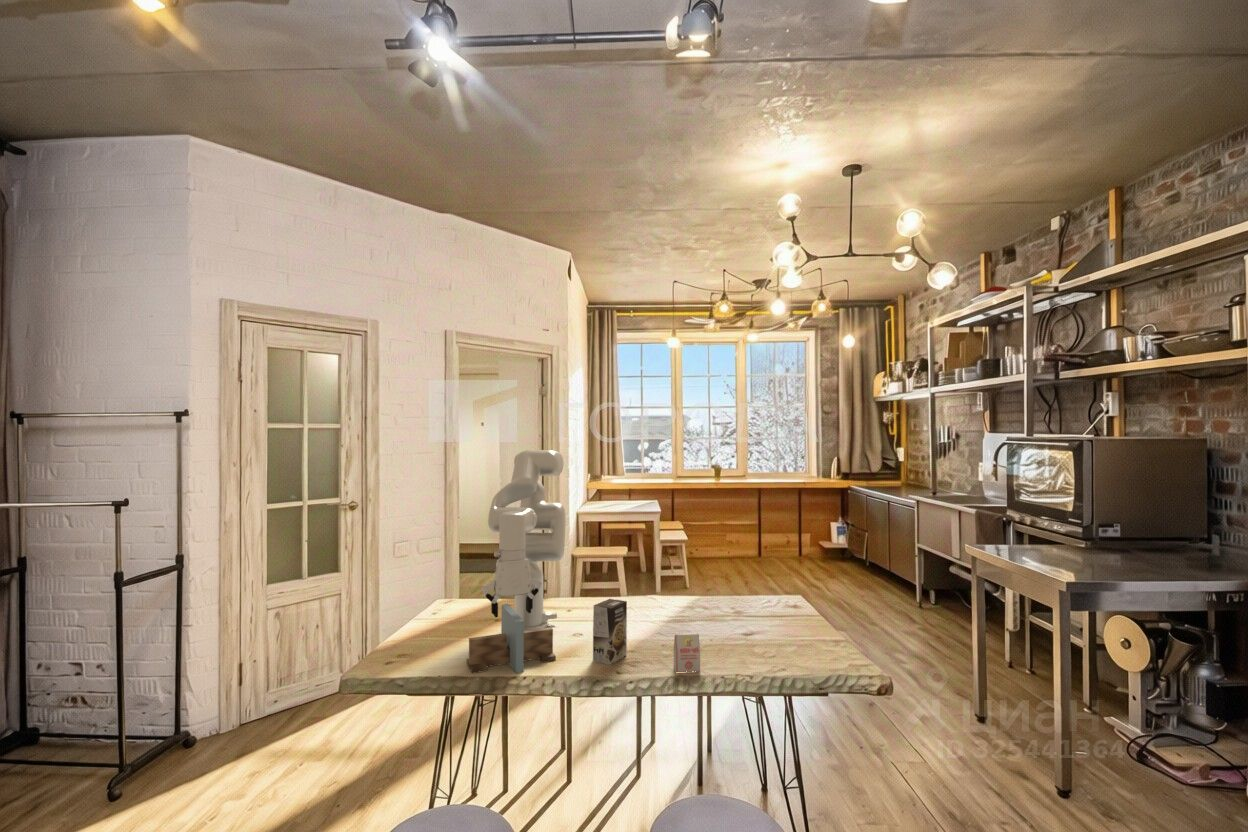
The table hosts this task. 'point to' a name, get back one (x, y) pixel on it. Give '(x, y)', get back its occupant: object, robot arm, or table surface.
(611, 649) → the coffee box
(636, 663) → the table surface
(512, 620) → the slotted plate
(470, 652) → the slotted board
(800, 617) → the table surface
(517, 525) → the robot arm
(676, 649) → the white carton
